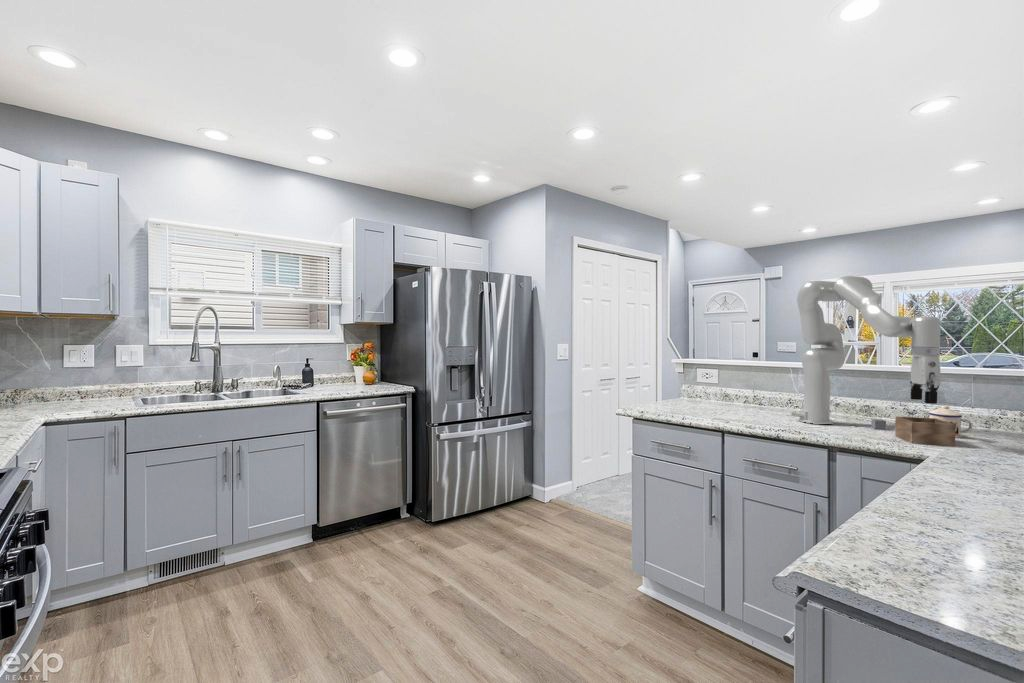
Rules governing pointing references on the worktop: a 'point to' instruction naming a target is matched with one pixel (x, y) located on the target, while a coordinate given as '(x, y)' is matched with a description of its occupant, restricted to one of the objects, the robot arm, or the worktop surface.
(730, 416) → the worktop surface
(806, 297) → the robot arm
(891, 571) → the worktop surface
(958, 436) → the teacup with lid
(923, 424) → the box
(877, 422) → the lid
